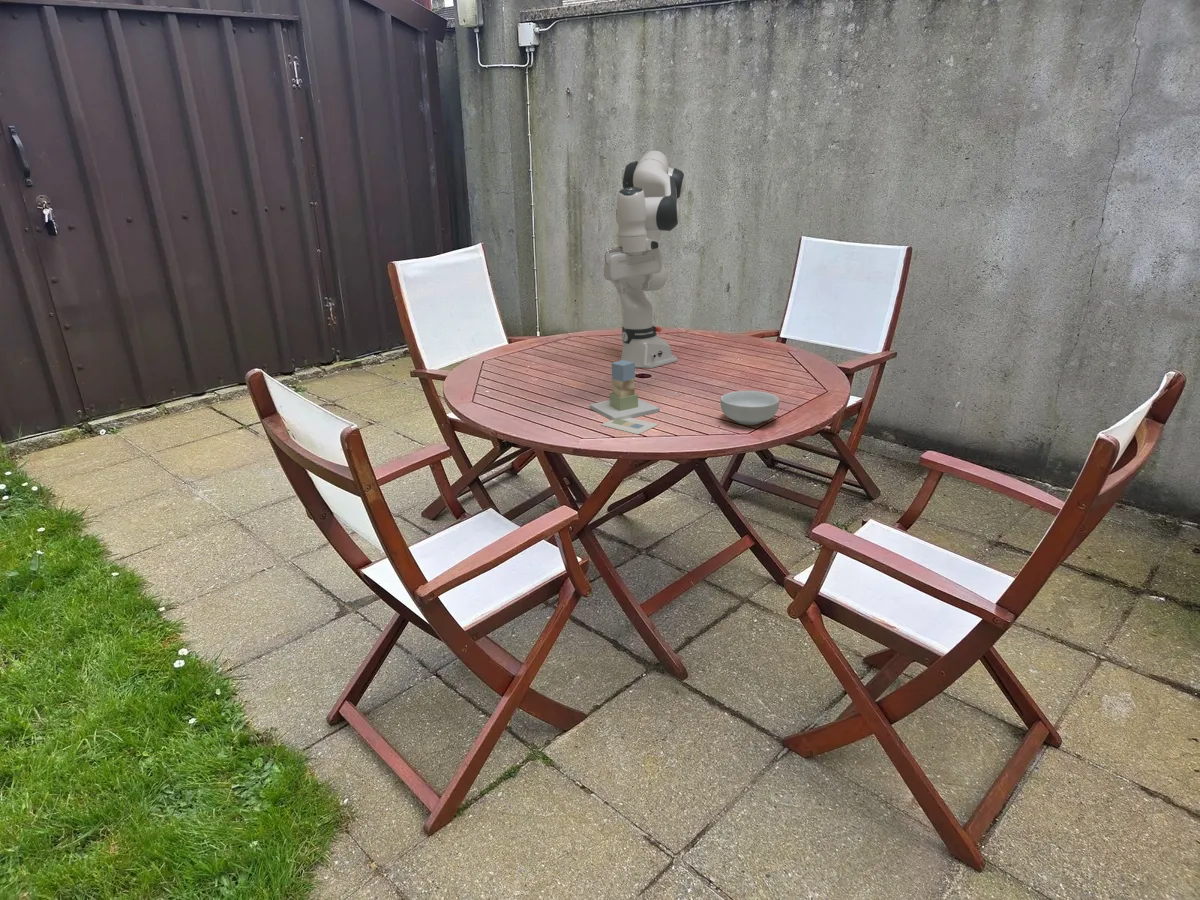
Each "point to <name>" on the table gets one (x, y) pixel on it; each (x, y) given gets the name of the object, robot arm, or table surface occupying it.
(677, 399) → the table surface
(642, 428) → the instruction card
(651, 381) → the table surface
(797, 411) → the table surface
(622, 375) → the slate blue block
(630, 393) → the beech block
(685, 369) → the table surface
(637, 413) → the build plate
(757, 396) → the cereal bowl
